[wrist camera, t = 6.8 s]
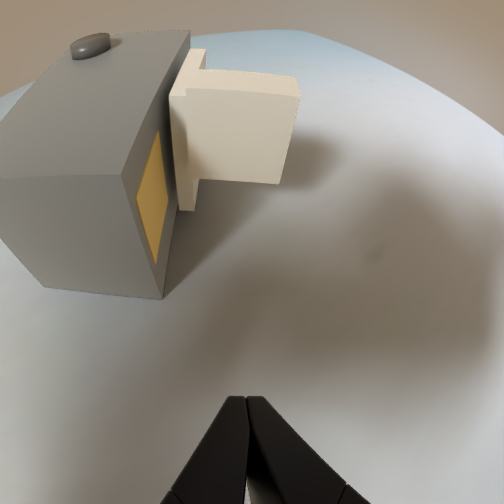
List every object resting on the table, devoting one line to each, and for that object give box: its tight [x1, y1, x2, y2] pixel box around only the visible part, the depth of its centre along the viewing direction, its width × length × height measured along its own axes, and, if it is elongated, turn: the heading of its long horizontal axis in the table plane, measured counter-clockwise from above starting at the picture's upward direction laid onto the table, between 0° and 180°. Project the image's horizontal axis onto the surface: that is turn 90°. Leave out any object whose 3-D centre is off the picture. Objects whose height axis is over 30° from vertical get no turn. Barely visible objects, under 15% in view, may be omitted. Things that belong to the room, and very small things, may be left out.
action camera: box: [0, 30, 190, 299], centre depth 14 cm, size 14×7×9 cm, turn 0°
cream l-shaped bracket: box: [169, 49, 301, 211], centre depth 14 cm, size 6×5×8 cm
